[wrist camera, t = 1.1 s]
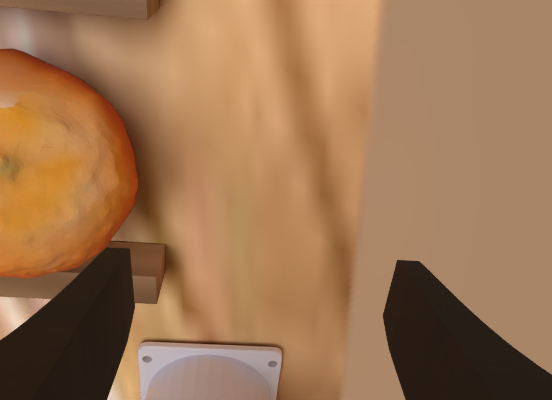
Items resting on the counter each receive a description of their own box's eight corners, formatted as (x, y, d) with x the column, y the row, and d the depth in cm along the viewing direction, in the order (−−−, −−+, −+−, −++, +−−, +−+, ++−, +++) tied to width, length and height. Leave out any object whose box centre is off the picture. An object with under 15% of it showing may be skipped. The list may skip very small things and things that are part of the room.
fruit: (-98, 208, 21) (-220, 229, 13) (-5, 48, 22) (-71, -19, 14) (84, 284, 23) (68, 338, 16) (161, 138, 24) (182, 122, 16)
